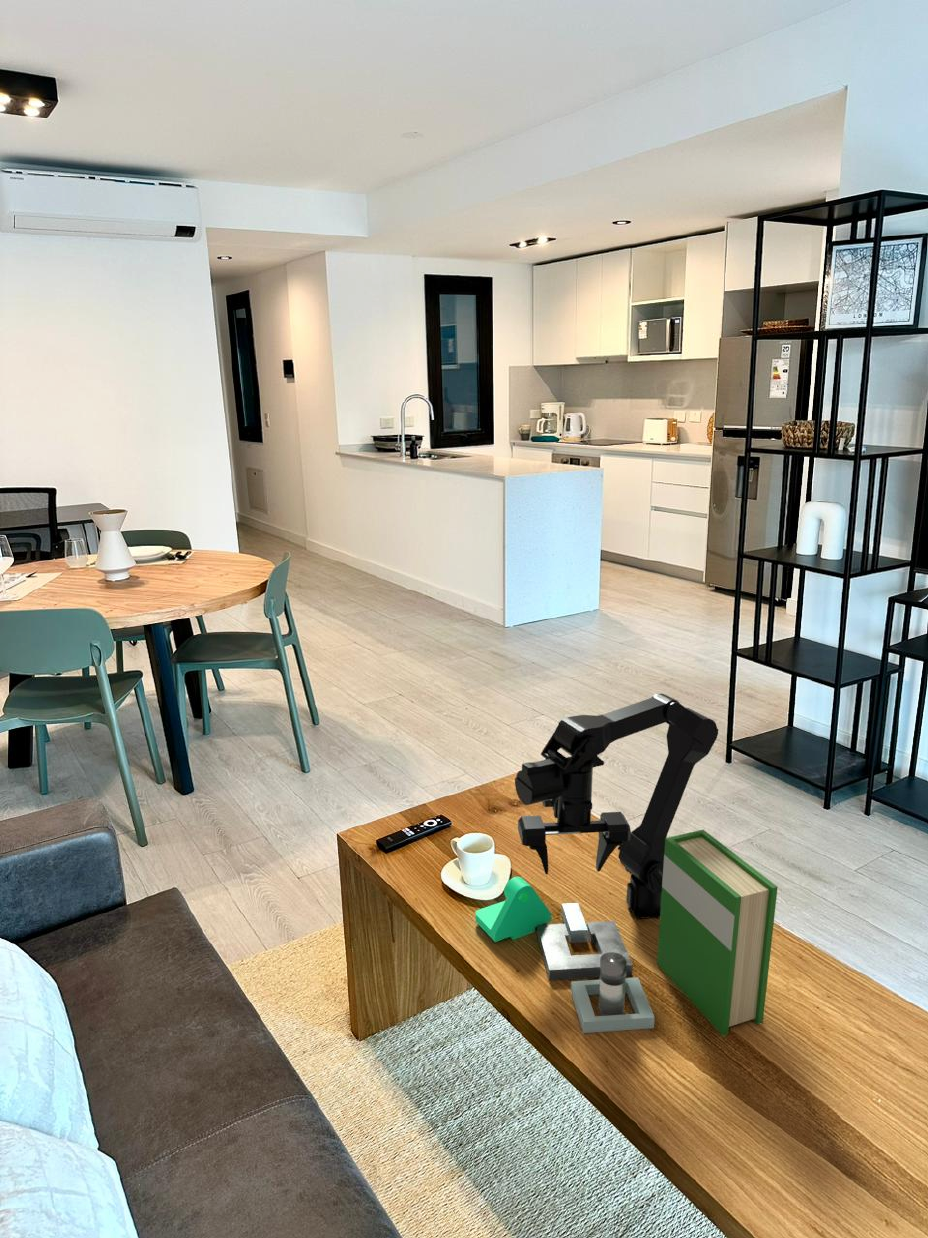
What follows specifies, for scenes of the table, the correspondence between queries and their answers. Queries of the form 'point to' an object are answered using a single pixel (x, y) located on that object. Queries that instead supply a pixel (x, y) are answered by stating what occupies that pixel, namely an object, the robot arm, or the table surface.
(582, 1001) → the square frame
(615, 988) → the chrome metal cylinder
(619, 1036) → the table surface
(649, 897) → the robot arm
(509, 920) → the camera mount
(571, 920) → the grey rectangular block
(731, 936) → the hardback book
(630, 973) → the socket block
